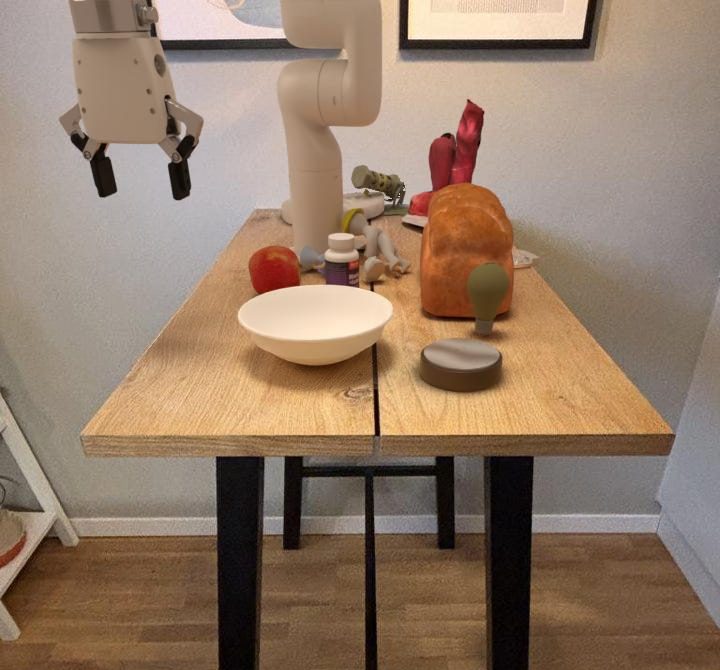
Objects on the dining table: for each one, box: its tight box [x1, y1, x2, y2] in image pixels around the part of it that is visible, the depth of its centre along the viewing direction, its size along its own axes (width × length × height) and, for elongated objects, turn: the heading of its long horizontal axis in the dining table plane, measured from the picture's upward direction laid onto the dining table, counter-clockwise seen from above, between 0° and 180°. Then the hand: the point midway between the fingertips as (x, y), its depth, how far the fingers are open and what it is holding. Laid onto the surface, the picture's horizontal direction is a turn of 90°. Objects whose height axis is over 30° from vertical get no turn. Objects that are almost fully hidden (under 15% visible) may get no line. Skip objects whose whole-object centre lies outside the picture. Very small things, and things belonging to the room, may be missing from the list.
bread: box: [419, 183, 515, 318], centre depth 102 cm, size 14×26×16 cm, turn 176°
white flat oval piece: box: [280, 192, 385, 225], centre depth 152 cm, size 22×28×3 cm
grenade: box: [350, 164, 407, 209], centre depth 153 cm, size 7×7×15 cm
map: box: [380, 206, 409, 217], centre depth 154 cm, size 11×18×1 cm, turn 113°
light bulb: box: [467, 262, 509, 337], centre depth 89 cm, size 6×6×10 cm
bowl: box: [237, 284, 395, 366], centre depth 85 cm, size 20×20×6 cm
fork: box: [353, 237, 367, 251], centre depth 131 cm, size 3×21×3 cm, turn 24°
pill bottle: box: [324, 233, 360, 288], centre depth 102 cm, size 5×5×10 cm
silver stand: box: [419, 337, 504, 392], centre depth 81 cm, size 10×10×3 cm
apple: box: [247, 245, 302, 295], centre depth 103 cm, size 8×8×8 cm
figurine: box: [342, 208, 412, 283], centre depth 115 cm, size 10×9×15 cm
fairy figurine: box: [298, 246, 325, 276], centre depth 116 cm, size 12×5×12 cm
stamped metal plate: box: [512, 248, 541, 269], centre depth 120 cm, size 8×7×2 cm
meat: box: [401, 98, 486, 228], centre depth 140 cm, size 23×24×25 cm
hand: (145, 196), depth 78 cm, fingers open, 9 cm apart
